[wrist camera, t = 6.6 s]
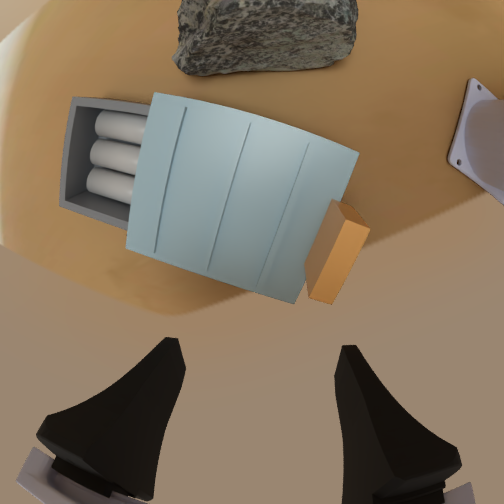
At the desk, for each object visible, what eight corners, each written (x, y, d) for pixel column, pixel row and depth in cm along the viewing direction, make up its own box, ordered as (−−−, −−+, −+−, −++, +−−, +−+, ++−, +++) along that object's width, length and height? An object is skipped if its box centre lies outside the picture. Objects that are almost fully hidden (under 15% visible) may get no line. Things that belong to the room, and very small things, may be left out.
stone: (243, 56, 7) (307, -107, 2) (134, 68, 12) (182, -54, 8) (365, 120, 13) (396, -7, 9) (249, 93, 19) (280, -7, 15)
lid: (365, 156, 13) (396, 167, 10) (303, 298, 18) (307, 345, 14) (161, 94, 13) (121, 85, 9) (132, 242, 17) (97, 274, 13)
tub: (224, 120, 17) (209, 117, 13) (195, 225, 20) (177, 247, 17) (104, 98, 17) (72, 96, 13) (89, 192, 20) (59, 206, 16)
